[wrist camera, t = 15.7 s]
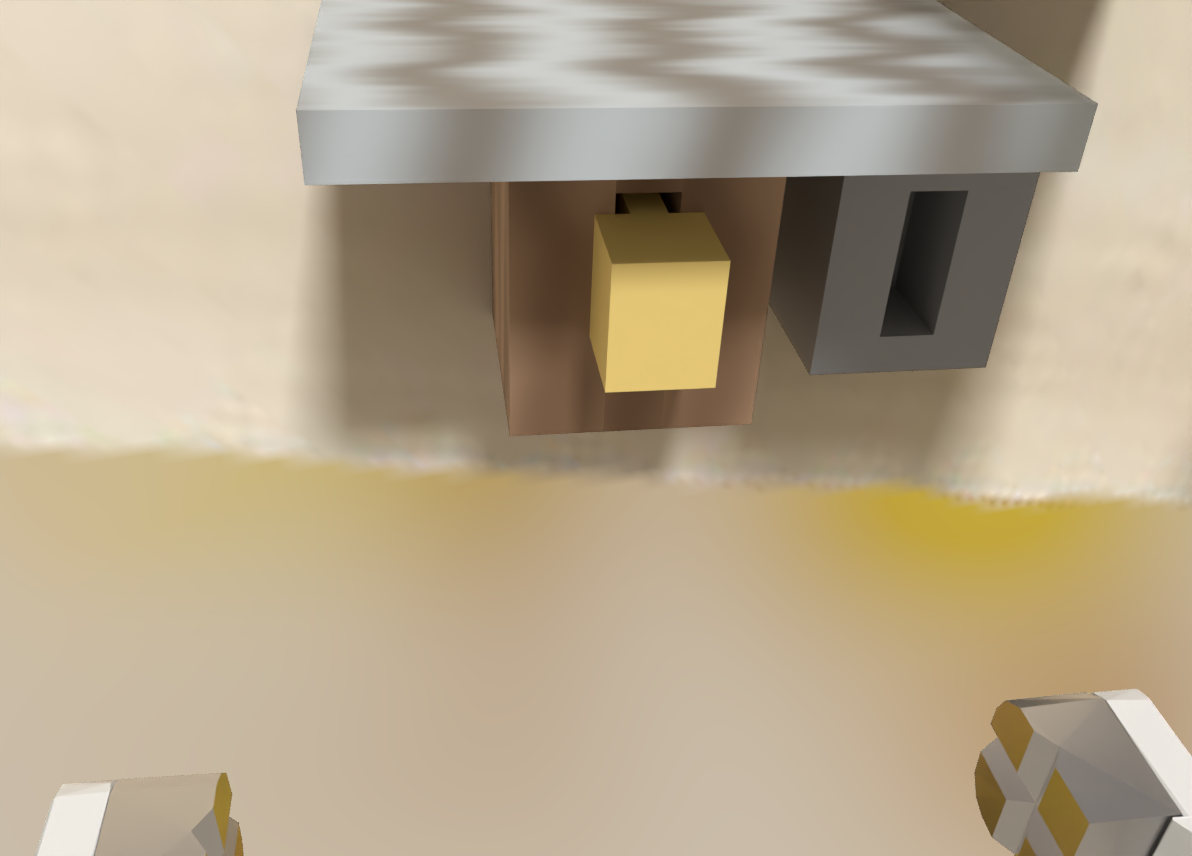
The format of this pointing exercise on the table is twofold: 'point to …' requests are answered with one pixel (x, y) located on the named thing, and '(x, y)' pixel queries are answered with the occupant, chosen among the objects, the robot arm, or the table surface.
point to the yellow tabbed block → (656, 297)
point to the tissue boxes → (658, 145)
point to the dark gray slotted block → (897, 268)
